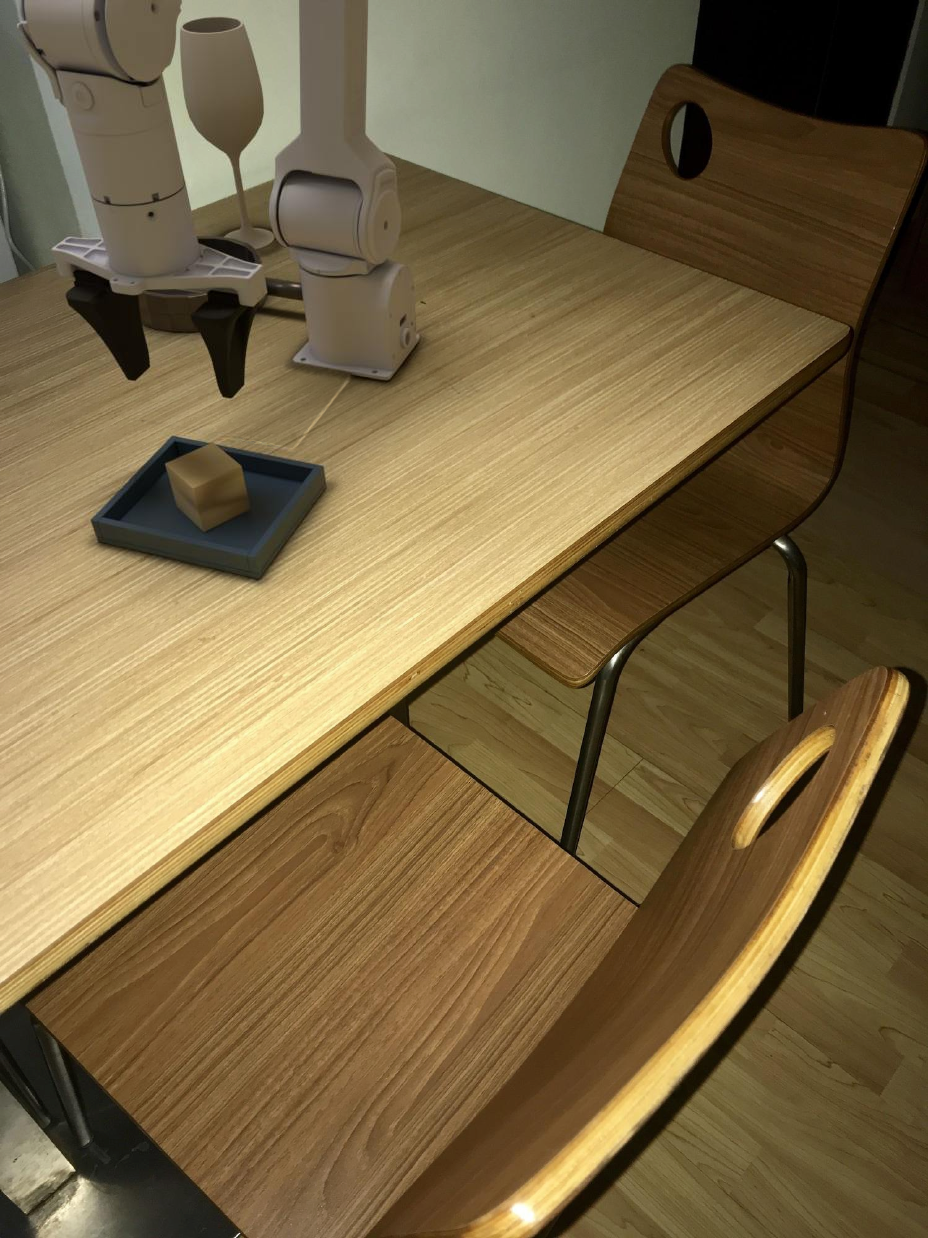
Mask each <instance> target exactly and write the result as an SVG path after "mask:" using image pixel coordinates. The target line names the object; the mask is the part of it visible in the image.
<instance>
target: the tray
mask: <svg viewBox="0 0 928 1238" xmlns="http://www.w3.org/2000/svg"><path fill="white" fill-rule="evenodd" d="M211 443H212V442H208V441H207V442H206V441H201V440H197V439H191V438H186V437H181V436H177V435H171V436H170V437H169V438H168V439H167V440H166V441H165V442H164V443H163V444H162V445H161V446H160V447H159V449H158V450H157V451H155V452H154V453H153V454H152V456H151V457H150V458H149V459H148V460H147V461H146V462H145V463H144V464H143V465H142V466H141V467H140V468H139V469H138V470H137V471H136V472H135V473H134V474H133V475H132V476H131V478H129V480H128V481H127V482H126V483H124V485H123V486H122V487H120V489H119V490H118V491H117V492H115V494H114V495H113V496H112V497H111V498H110V499H109V500H108V501H107V502H105V503H106V504H104V506H102V508H100V509H99V511H97V513H96V514H95V515H94V516H93V517H92V518H91V519H90V524H91V526H92V529H93V532H94V534H95V536H96V539H97V542H100V543H104V544H109V545H112V546H117V547H121V548H125V549H129V550H133V551H138V552H143V553H145V554H146V553H147V554H151V555H155V556H158V557H164V558H168V559H172V560H176V561H182V562H184V563H189V564H193V565H197V566H202V567H205V568H210V569H214V570H219V571H223V572H226V573H231V574H236V575H239V576H244V577H248V578H252V579H257V580H260V579H261V578H262V577H263V574H264V573H265V572H266V571H267V569H268V568H269V566H271V564H272V562H274V559H275V558H276V556H277V555H278V554H279V553H280V551H281V550H282V548H283V547H284V546H285V545H286V544H287V542H288V540H289V539H290V537H291V536H292V535H293V533H294V532H295V530H296V529H297V528H298V527H299V525H300V524H301V522H302V521H303V520H304V519H305V517H306V516H307V514H308V513H309V512H310V510H311V509H312V507H313V506H314V505H315V503H316V502H317V500H318V499H319V498H320V496H321V495H322V494H323V493H324V491H325V490H326V488H327V479H326V474H325V473H326V472H325V466H324V465H321V464H316V463H311V462H306V461H302V460H296V459H291V458H286V457H281V456H278V455H277V456H276V455H271V454H266V453H262V452H256V451H251V450H247V449H242V448H236V447H233V446H232V447H231V446H226V445H221V444H217V443H214V444H215V445H217V446H218V447H219V448H220V449H221V450H223V451H224V452H225V453H226V454H227V455H229V456H230V457H231V458H232V459H234V460H235V461H236V462H237V463H238V464H240V465H241V466H242V471H243V476H244V481H245V485H246V490H247V495H248V500H249V504H250V510H249V511H247V512H244V513H242V514H240V515H238V516H236V517H234V518H232V519H230V520H228V521H226V522H224V523H222V524H220V525H218V526H216V527H214V528H212V529H210V530H208V531H206V532H203V531H202V530H201V529H200V528H199V527H198V526H197V525H196V524H195V523H194V522H193V521H192V520H190V519H189V518H188V517H187V516H186V515H185V514H184V513H183V512H182V511H181V510H180V509H179V508H178V507H177V505H176V501H175V498H174V494H173V491H172V487H171V483H170V480H169V476H168V472H167V469H166V465H165V464H166V463H168V462H170V461H172V460H174V459H177V458H179V457H181V456H184V455H186V454H188V453H190V452H193V451H195V450H197V449H199V448H202V447H204V446H206V445H208V444H211Z"/></svg>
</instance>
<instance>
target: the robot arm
mask: <svg viewBox="0 0 928 1238" xmlns="http://www.w3.org/2000/svg"><path fill="white" fill-rule="evenodd" d="M182 4H183V0H19V12H20V18H21V19H20V22H18V23H17V24H16V29H17V32H18V34H19V36H20V39H21V41H22V43H23V45H24V47H25V49H26V50H27V52H28V54H29V55H30V57H31V58H32V59H33V60H34V61H35V63H37V64H38V65H39V66H40V67H41V68H42V69H43V70H44V72H45V74H46V75H47V77H48V80H49V83H50V85H51V90H52V93H53V97H54V99H57V100H58V101H59V103H60V105H61V106H63V107H64V108H65V109H66V113H67V117H68V120H69V124H70V126H71V130H72V134H73V137H74V141H75V144H76V148H77V151H78V156H79V159H80V162H81V166H82V171H83V174H84V177H85V180H86V185H87V188H88V191H89V195H90V198H91V199H90V200H91V202H92V205H93V209H94V213H95V217H96V219H97V224H98V227H99V230H100V234H101V237H89V238H88V237H75V236H67V237H66V238H64V239H63V240H62V241H60V242H59V243H57V244H56V245H54V246H53V247H52V248H50V250H51V253H52V256H53V259H54V260H53V261H54V263H55V266H56V269H57V272H58V275H59V277H61V278H68V279H72V278H73V279H74V280H73V286H72V287H71V288H70V289H68V290H67V291H66V293H65V298H66V301H67V305H68V306H69V307H70V308H71V309H73V311H75V312H76V313H77V314H78V315H79V316H80V317H82V318H83V320H85V321H86V323H87V324H88V325H89V326H90V327H91V328H92V329H93V330H94V332H95V333H96V334H97V335H98V336H99V338H100V339H101V340H102V342H103V343H104V345H105V346H106V347H107V349H108V351H109V352H110V353H111V355H112V356H113V358H114V360H115V361H116V363H117V365H118V367H119V368H120V369H121V371H122V373H123V375H124V376H125V378H126V379H127V380H128V381H133V382H136V381H137V380H139V378H140V377H141V376H143V374H145V372H147V371H148V370H149V369H150V368H151V360H150V359H151V358H150V351H149V348H148V347H149V346H148V343H147V339H146V334H145V330H144V326H143V324H142V322H141V315H140V308H139V296H138V294H140V293H142V292H143V291H145V290H158V289H178V290H185V291H191V292H197V293H204V294H207V296H208V301H207V302H206V301H205V302H204V303H203V304H202V305H201V306H200V307H199V308H198V309H196V310H195V311H194V312H193V313H192V314H191V320H192V322H193V323H194V325H195V326H196V328H197V329H198V333H199V335H200V337H201V338H202V340H203V342H204V345H205V347H206V349H207V352H208V354H209V357H210V359H211V364H212V367H213V372H214V376H215V380H216V384H217V388H218V391H219V393H220V396H221V397H222V398H225V399H226V398H227V399H233V398H234V397H235V396H236V395H237V394H238V392H240V390H242V388H243V387H244V386H245V380H246V379H245V376H246V375H245V374H246V358H247V349H248V344H249V339H250V334H251V329H252V326H253V322H254V319H255V317H256V313H257V311H258V310H257V308H258V305H259V302H260V300H261V299H262V298H263V297H264V296H265V295H266V294H267V287H266V281H265V277H266V276H265V270H264V265H263V264H262V265H260V264H254V263H250V262H246V261H242V260H240V259H237V258H234V257H232V256H229V255H227V254H224V253H222V252H219V251H217V250H214V249H212V248H209V247H207V246H204V245H202V244H199V243H198V240H197V236H198V235H197V231H196V225H195V220H194V217H193V211H192V208H191V201H190V198H189V194H188V188H187V183H186V179H185V175H184V170H183V166H182V160H181V156H180V150H179V145H178V142H177V137H176V132H175V128H174V123H173V118H172V113H171V108H170V103H169V98H168V93H167V89H166V85H165V84H166V83H165V79H164V74H163V73H164V71H165V70H166V69H167V68H168V67H170V66H171V64H172V61H173V58H174V55H175V49H176V43H177V23H178V18H179V16H180V15H181V13H182V9H181V5H182ZM298 25H299V26H298V27H299V28H298V29H299V31H298V32H299V33H298V34H299V36H298V38H299V40H298V41H299V104H300V105H299V109H300V110H299V111H300V112H299V113H300V114H299V122H300V123H299V125H300V129H299V130H300V132H299V134H298V135H297V136H296V137H295V138H294V139H293V140H291V142H290V143H288V144H287V145H286V146H285V147H283V148H282V149H281V150H280V151H279V152H278V154H276V155H275V157H274V168H275V170H274V179H273V186H272V189H271V193H270V196H269V204H268V217H269V224H270V227H271V230H272V233H273V235H274V238H275V239H276V241H277V242H278V243H279V244H280V245H281V246H282V247H284V248H288V253H289V260H290V261H292V262H295V263H297V264H298V271H299V278H300V283H301V286H302V294H303V301H302V302H303V307H304V315H305V322H306V328H307V329H306V330H307V336H308V341H307V342H306V343H305V344H304V345H303V347H302V348H301V349H300V350H299V351H298V352H297V353H296V354H295V355H294V357H293V358H292V362H293V363H296V364H301V365H306V366H313V367H318V368H323V369H329V370H335V371H341V372H348V373H350V375H351V376H358V377H364V378H370V379H374V380H375V379H376V380H381V381H389V380H391V379H392V378H393V376H394V375H395V373H396V372H397V371H398V370H399V368H400V367H401V365H402V364H403V363H404V361H405V360H406V359H407V357H408V356H409V354H410V353H411V352H412V351H413V349H414V348H415V346H417V344H418V343H419V341H420V334H418V333H417V319H416V299H415V284H414V283H415V282H414V277H413V273H412V270H411V268H410V267H409V266H408V265H406V264H403V263H400V262H396V261H394V260H393V259H391V258H389V257H390V256H391V255H392V253H393V252H394V251H395V249H396V247H397V245H398V242H399V239H400V235H401V230H402V219H403V217H402V216H403V215H402V206H401V202H400V199H399V192H398V177H397V175H398V174H397V166H396V164H395V163H394V162H393V161H392V160H391V159H390V158H389V157H388V156H387V155H386V154H385V153H384V152H383V151H382V150H381V149H380V147H378V146H377V145H376V144H375V143H374V142H373V141H372V140H371V139H370V137H369V136H368V135H367V133H366V124H367V84H368V83H367V79H368V78H367V77H368V35H369V34H368V33H369V30H368V27H369V0H298ZM266 296H267V295H266ZM256 310H257V311H256Z"/></svg>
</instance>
